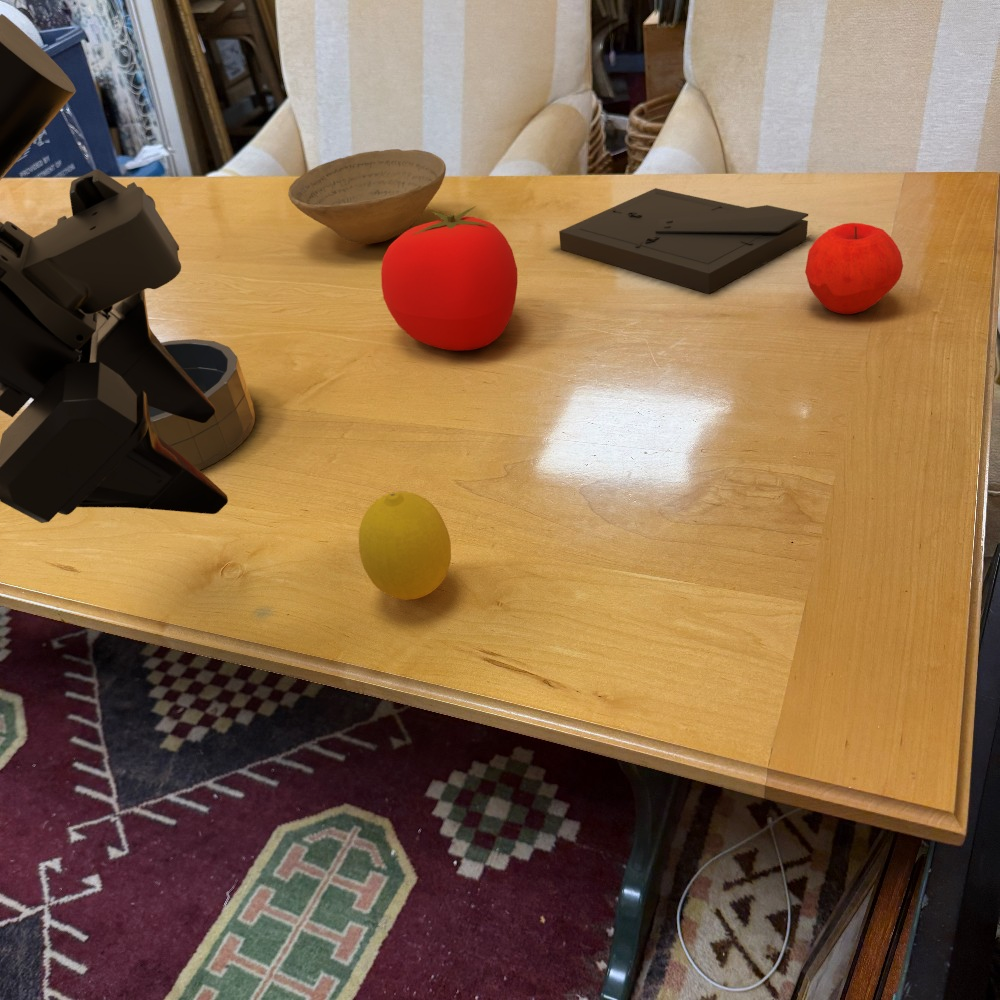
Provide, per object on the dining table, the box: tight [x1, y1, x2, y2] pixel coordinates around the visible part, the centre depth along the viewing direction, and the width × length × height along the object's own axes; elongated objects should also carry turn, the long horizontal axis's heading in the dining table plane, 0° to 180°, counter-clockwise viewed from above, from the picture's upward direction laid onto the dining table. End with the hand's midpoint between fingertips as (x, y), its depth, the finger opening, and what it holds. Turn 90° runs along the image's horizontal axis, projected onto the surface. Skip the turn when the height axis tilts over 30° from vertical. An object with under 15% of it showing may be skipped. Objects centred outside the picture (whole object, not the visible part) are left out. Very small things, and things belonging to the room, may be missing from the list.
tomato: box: [380, 205, 518, 352], centre depth 83 cm, size 12×14×11 cm
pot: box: [148, 338, 256, 471], centre depth 77 cm, size 15×15×6 cm
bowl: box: [287, 148, 447, 245], centre depth 109 cm, size 18×18×8 cm
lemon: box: [358, 491, 452, 601], centre depth 56 cm, size 6×6×8 cm
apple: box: [804, 222, 904, 315], centre depth 80 cm, size 8×8×7 cm
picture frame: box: [558, 187, 809, 294], centre depth 97 cm, size 16×3×21 cm
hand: (216, 458), depth 49 cm, fingers open, 9 cm apart
